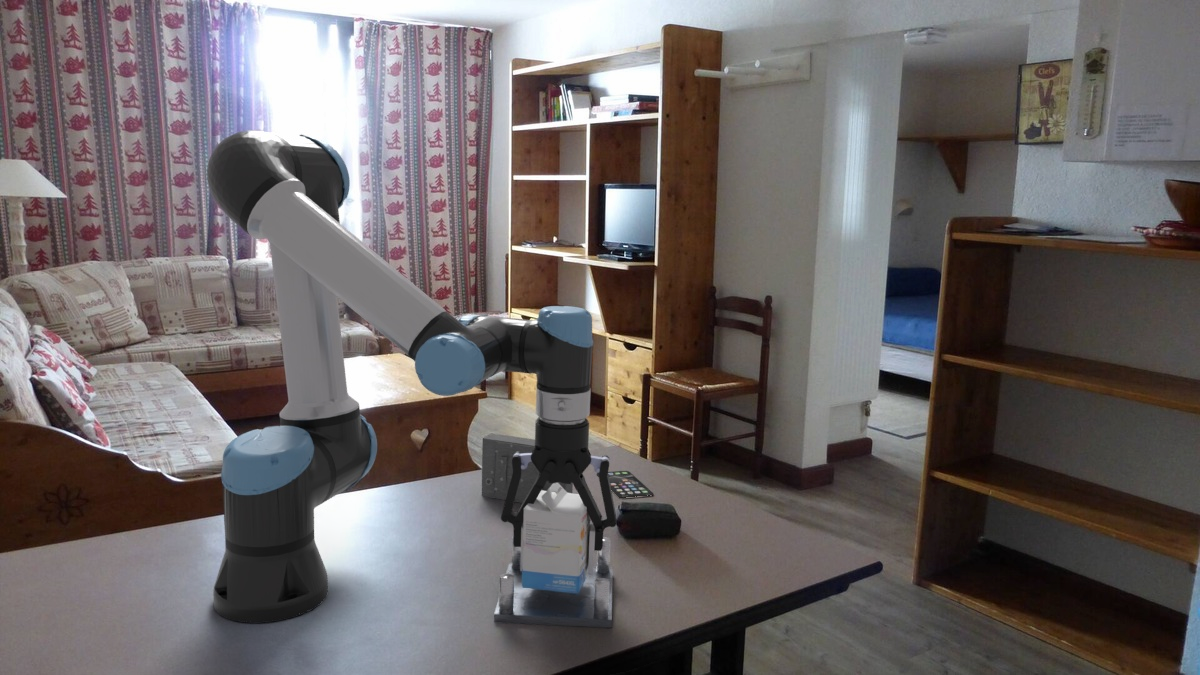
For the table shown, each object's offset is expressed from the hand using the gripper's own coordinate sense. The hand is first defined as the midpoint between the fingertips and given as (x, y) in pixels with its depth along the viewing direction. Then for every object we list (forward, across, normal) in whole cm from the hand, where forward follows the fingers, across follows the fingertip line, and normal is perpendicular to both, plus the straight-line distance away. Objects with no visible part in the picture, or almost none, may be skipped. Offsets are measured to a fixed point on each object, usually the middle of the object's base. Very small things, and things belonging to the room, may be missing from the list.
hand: (557, 568), depth 124 cm
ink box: (+2, 0, 0) cm, 2 cm away
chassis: (+4, 0, 0) cm, 4 cm away
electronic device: (+5, -9, +37) cm, 38 cm away
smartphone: (+5, +10, +49) cm, 50 cm away
